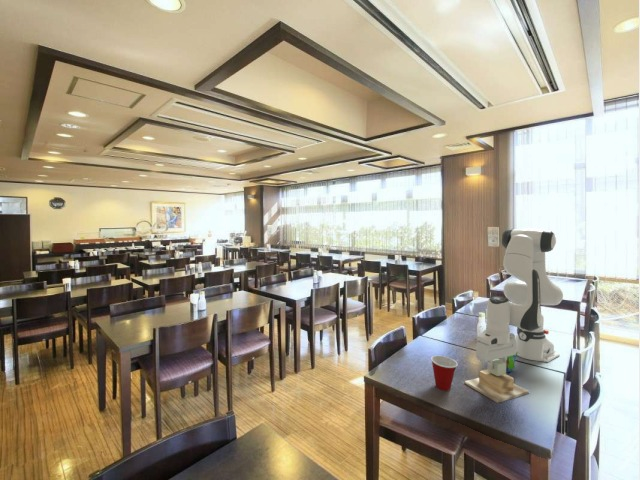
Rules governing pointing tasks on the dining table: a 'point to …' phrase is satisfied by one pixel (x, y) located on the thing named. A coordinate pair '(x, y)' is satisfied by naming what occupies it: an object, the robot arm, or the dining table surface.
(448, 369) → the plastic cup
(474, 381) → the foundation base
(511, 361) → the snack cup
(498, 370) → the sage cube
